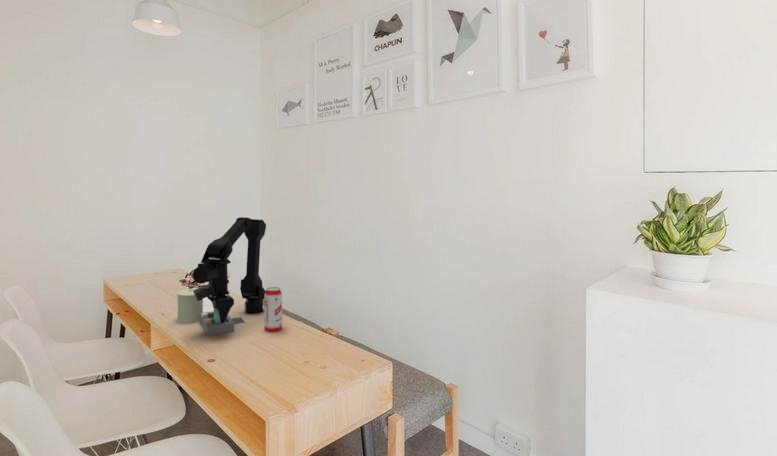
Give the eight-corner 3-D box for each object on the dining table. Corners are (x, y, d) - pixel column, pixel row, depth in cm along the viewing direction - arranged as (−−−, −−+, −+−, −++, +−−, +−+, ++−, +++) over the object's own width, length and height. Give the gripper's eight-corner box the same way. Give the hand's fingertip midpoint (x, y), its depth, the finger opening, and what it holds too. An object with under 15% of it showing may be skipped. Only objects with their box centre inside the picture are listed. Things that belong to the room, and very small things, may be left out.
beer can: (284, 328, 153) (284, 287, 152) (278, 334, 147) (278, 291, 146) (268, 327, 154) (268, 286, 152) (261, 333, 148) (261, 290, 146)
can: (202, 315, 165) (202, 286, 164) (204, 322, 157) (204, 292, 156) (177, 318, 161) (176, 288, 159) (177, 325, 153) (177, 295, 151)
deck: (240, 318, 163) (240, 317, 163) (245, 323, 157) (245, 322, 157) (226, 320, 160) (226, 319, 160) (230, 326, 154) (230, 324, 154)
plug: (224, 327, 151) (224, 306, 150) (226, 330, 148) (226, 309, 147) (213, 329, 149) (212, 308, 148) (215, 332, 146) (214, 310, 145)
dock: (223, 319, 161) (223, 307, 161) (234, 333, 147) (234, 319, 147) (199, 323, 156) (199, 310, 156) (207, 337, 142) (207, 323, 142)
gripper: (190, 274, 150) (191, 315, 151) (199, 285, 134) (200, 330, 136) (222, 271, 156) (223, 310, 157) (234, 281, 140) (234, 325, 142)
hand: (219, 318), depth 148 cm, fingers open, 9 cm apart
